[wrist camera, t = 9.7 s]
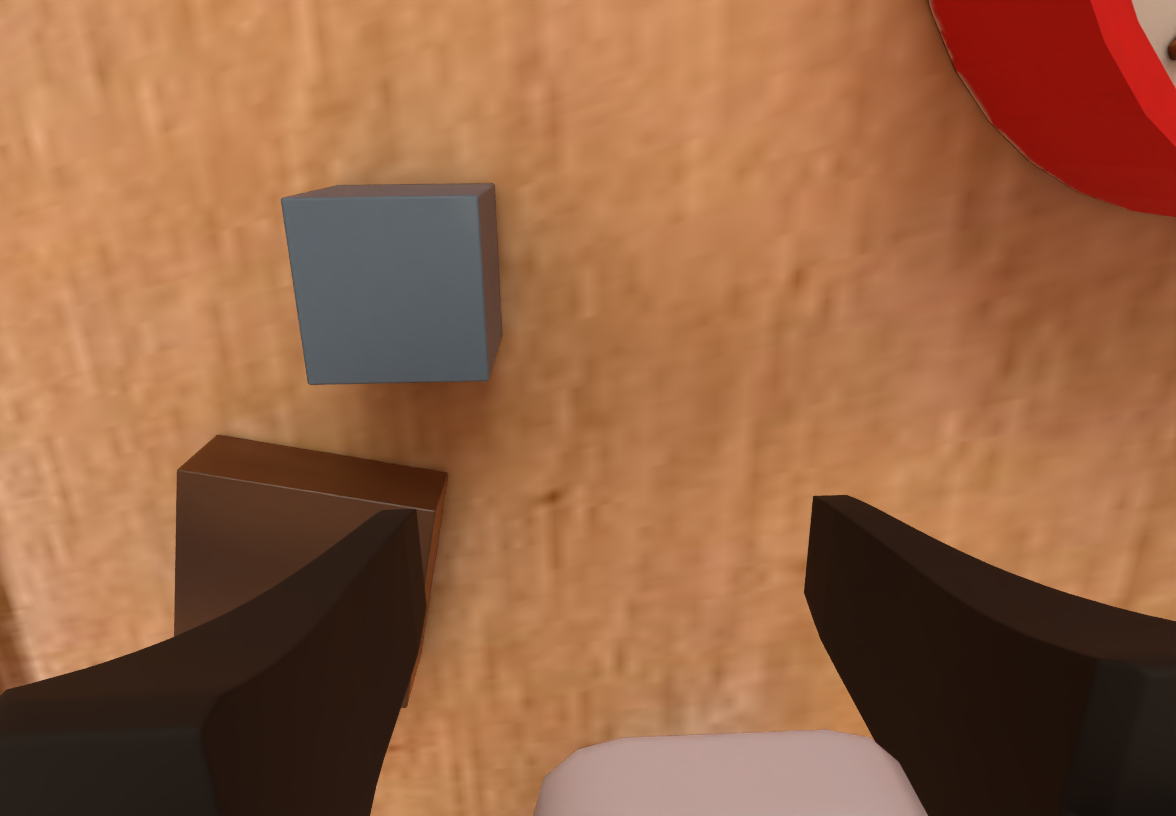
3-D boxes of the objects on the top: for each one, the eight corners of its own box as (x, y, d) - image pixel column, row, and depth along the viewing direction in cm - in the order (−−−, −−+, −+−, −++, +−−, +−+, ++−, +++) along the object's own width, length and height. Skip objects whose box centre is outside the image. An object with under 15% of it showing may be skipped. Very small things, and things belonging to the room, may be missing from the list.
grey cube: (502, 336, 22) (489, 381, 18) (354, 338, 22) (307, 385, 18) (494, 183, 21) (478, 195, 17) (335, 185, 21) (279, 197, 16)
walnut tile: (421, 655, 26) (406, 709, 24) (209, 625, 25) (172, 677, 23) (448, 472, 24) (435, 510, 21) (216, 434, 23) (176, 469, 21)
